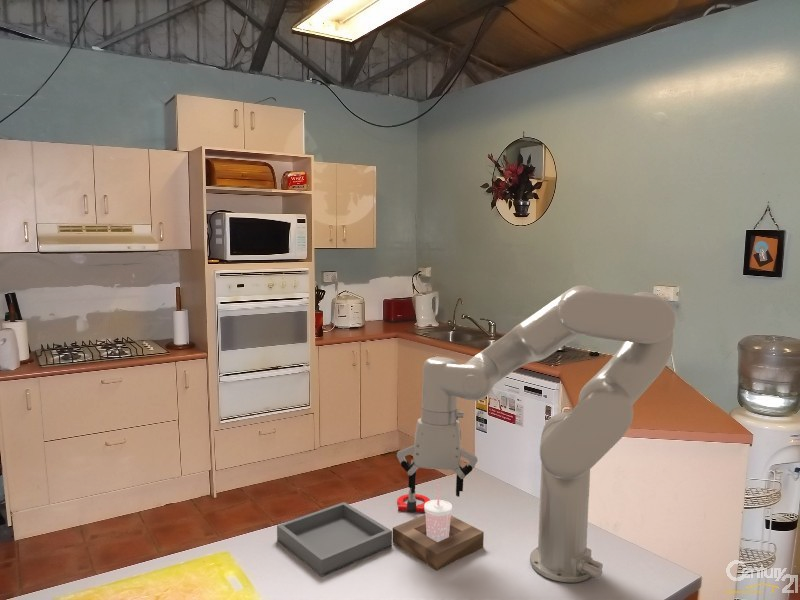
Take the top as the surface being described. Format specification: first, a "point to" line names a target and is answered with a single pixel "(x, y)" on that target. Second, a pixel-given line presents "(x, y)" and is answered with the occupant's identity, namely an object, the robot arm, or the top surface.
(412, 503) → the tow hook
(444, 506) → the beverage cup
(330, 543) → the tray
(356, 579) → the top surface
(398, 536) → the square wooden frame block
